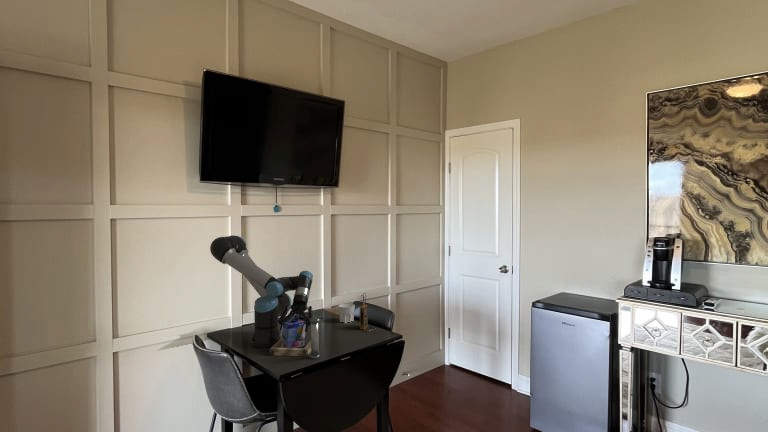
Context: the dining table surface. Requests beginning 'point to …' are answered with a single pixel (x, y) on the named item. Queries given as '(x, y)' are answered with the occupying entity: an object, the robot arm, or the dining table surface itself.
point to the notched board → (289, 350)
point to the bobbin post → (314, 338)
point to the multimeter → (363, 315)
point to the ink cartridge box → (293, 333)
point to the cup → (346, 312)
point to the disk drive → (308, 316)
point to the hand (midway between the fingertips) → (292, 337)
